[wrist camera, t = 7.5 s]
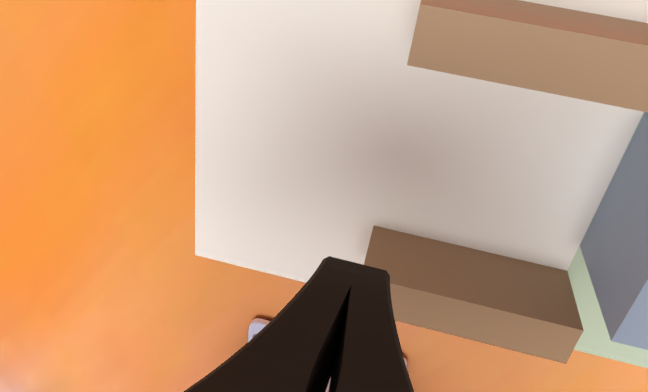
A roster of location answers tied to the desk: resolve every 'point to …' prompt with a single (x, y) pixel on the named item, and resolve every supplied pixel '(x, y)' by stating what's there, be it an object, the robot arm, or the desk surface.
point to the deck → (423, 152)
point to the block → (623, 246)
